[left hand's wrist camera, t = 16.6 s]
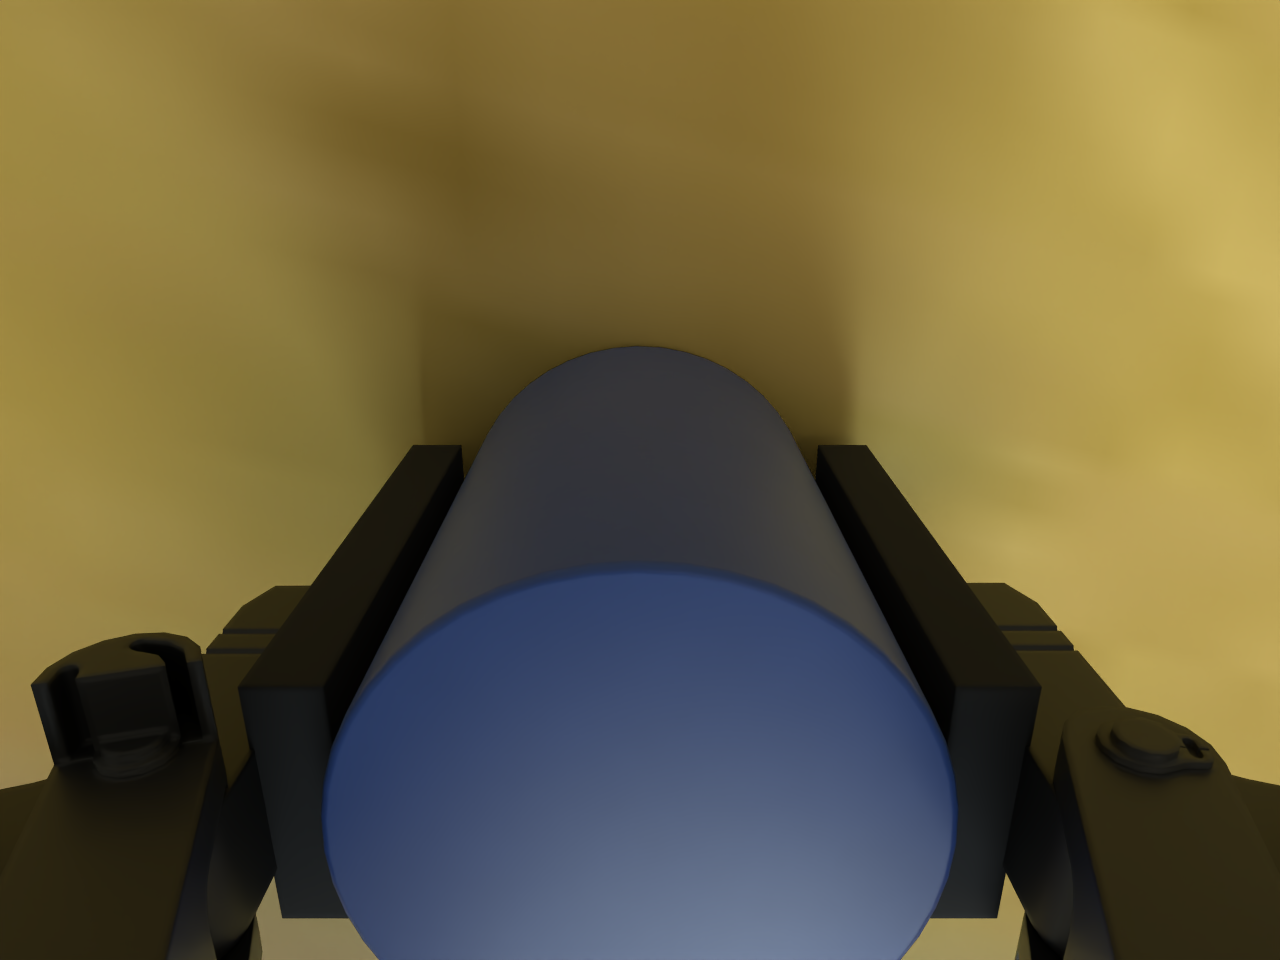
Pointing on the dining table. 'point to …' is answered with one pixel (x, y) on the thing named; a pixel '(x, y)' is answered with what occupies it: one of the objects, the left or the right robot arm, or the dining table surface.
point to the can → (639, 701)
